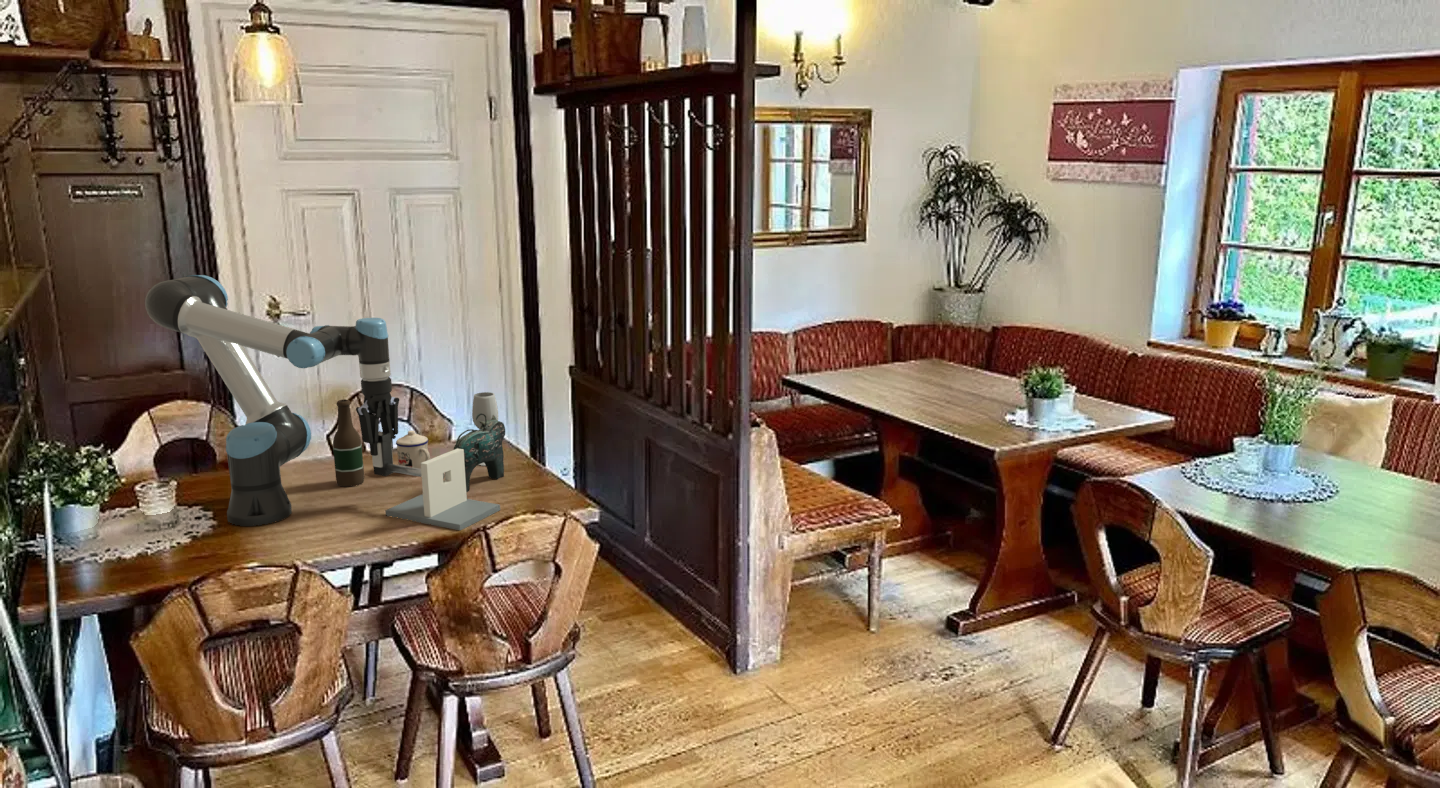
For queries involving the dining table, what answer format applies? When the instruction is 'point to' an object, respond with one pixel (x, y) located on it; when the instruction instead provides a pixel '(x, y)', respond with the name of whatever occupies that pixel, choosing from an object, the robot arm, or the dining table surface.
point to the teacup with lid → (412, 450)
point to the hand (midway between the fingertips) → (383, 464)
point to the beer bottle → (347, 449)
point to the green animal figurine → (483, 448)
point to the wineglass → (484, 408)
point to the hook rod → (388, 460)
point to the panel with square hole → (444, 496)
